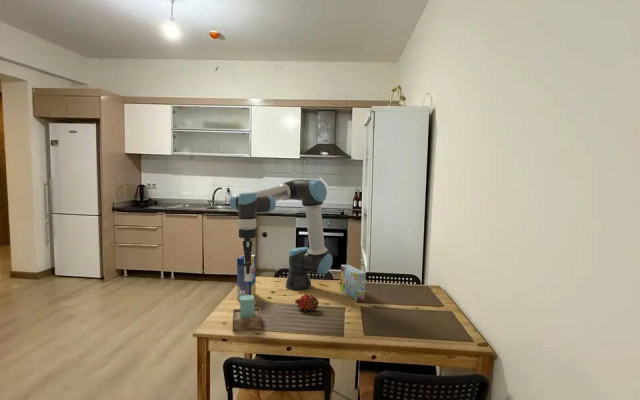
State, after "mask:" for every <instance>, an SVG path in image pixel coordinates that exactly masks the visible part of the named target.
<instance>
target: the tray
mask: <svg viewBox="0 0 640 400" xmlns="http://www.w3.org/2000/svg"><path fill="white" fill-rule="evenodd" d="M262 317H263V316H262V311H261V307H254V318H242V319H240V308H233V310H232V332H239V331H252V330H262V329H263V328H262V324H263V323H262V322H263V321H262V319H263V318H262Z"/></svg>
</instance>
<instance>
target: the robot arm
mask: <svg viewBox="0 0 640 400" xmlns="http://www.w3.org/2000/svg"><path fill="white" fill-rule="evenodd" d="M327 191H328V190H327V187H326V184H325V183H324V182H323V181H322V180H319V179H301V178H300V179H292V180H289V181H285V182H281V183H279V184H278V185H277V186H272V187H268V188H265V189H260V190H257V191H251V192H240V193H239V194H234V195H232V196H231V198H230V200H229V205H230V208H231V209H232V210H234V211H238V220H237V223H238V228H239V229H238V238H240V239H243V241H242V247H243V248H242V249H243V252H244V253H243V254H244V257H245V258H244V264H243V266H244V273H245V281H251V257H252V255H253V254H252V251H253V248H252V247H253V241H252V240H251V239H254V238H256V237H257V214H262V213H263V214H264V213H265V214H266V213H271V212H273V211H274V210H276V205H277V203H276V202H279V201H289V200H292V201H301V204H302V207H304V208H305V216H306V217H305V218H306V228H307V237H308V246H309V247H303V246H302V247H294V248H291V249H290V250H289V252H288V253H289V254H288V275H287V279H286V282H285V287H286V288H287V289H289V290H292V291H306V290H308V289H310V288H311V287H312V281H311V277H310V273H315V274H319V275H321V274H323V275H326V274H327V273H329V272H330V271H331V270H330V269H331V268H332V265H333V256H332V254H330V253H329V251H328V248H327V247H326V246H325V238H324V237H325V235H324V228H323V227H324V226H323V225H324V224H323V217H322V216H323V215H322V206H323V204H324V202H325V200H326V198H327V193H328V192H327Z"/></svg>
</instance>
